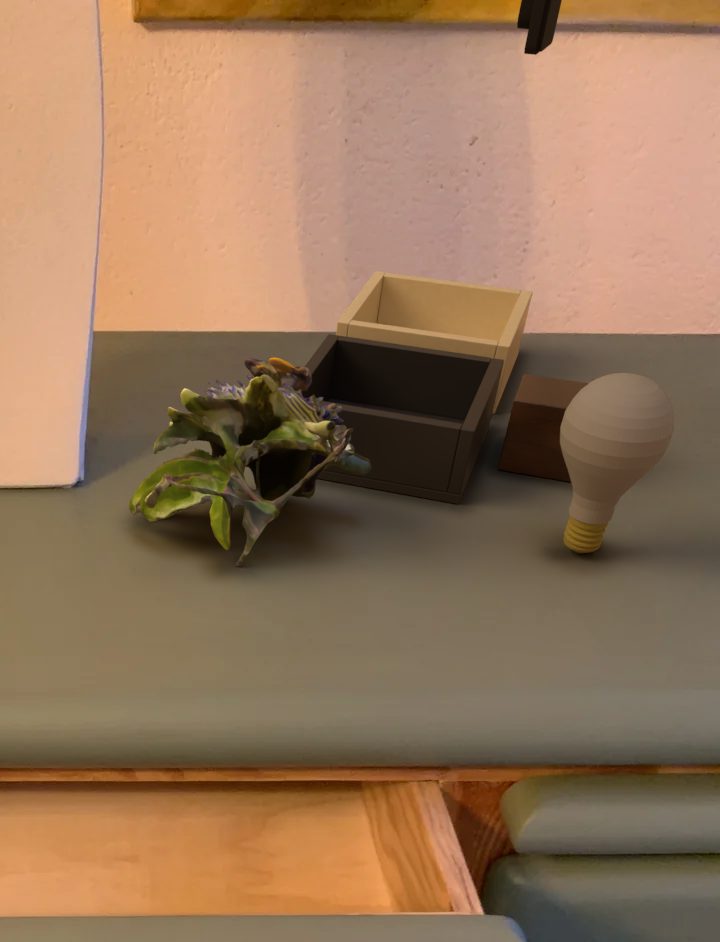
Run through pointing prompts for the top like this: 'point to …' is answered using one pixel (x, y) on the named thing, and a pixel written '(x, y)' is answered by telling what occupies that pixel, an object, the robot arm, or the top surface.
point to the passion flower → (248, 450)
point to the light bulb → (610, 448)
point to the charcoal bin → (407, 412)
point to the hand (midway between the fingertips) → (646, 59)
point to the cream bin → (440, 317)
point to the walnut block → (538, 427)
